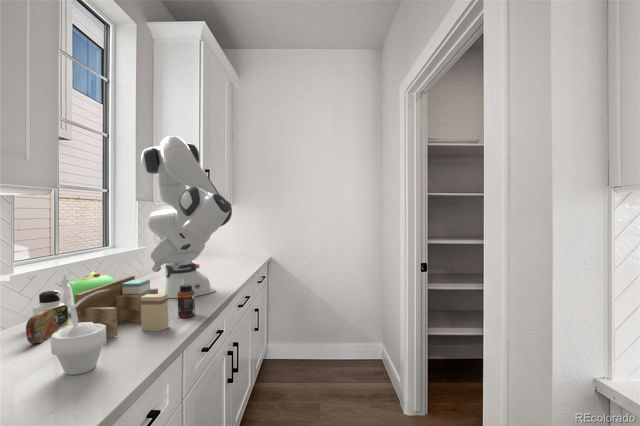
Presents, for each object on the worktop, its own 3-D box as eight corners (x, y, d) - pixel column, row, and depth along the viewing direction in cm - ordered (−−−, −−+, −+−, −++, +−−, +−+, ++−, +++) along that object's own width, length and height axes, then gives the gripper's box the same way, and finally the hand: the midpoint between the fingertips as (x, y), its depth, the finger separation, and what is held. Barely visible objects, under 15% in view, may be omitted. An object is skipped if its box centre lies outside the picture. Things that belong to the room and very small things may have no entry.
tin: (36, 347, 107) (35, 318, 107) (24, 348, 107) (22, 319, 106) (61, 330, 122) (60, 305, 122) (50, 331, 121) (49, 305, 121)
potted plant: (42, 384, 84) (37, 275, 83) (64, 363, 95) (61, 267, 95) (103, 376, 87) (99, 271, 86) (118, 357, 98) (114, 264, 98)
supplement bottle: (198, 314, 135) (197, 284, 135) (184, 319, 130) (183, 287, 130) (188, 312, 139) (187, 282, 139) (174, 316, 134) (173, 286, 134)
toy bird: (91, 317, 136) (90, 277, 136) (56, 314, 141) (54, 276, 140) (128, 304, 154) (127, 269, 153) (96, 302, 158) (95, 268, 158)
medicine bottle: (48, 330, 122) (46, 294, 122) (33, 328, 125) (31, 293, 124) (68, 323, 129) (67, 289, 129) (54, 321, 131) (53, 288, 131)
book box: (168, 326, 123) (167, 293, 123) (162, 330, 119) (161, 297, 119) (148, 326, 123) (146, 294, 123) (141, 330, 119) (140, 297, 119)
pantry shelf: (158, 311, 141) (157, 275, 141) (109, 340, 111) (107, 294, 111) (132, 311, 142) (130, 275, 141) (76, 340, 112) (74, 294, 111)
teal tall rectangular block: (150, 313, 139) (149, 279, 138) (140, 319, 132) (139, 283, 131) (134, 313, 139) (133, 279, 139) (123, 319, 132) (121, 283, 132)
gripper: (203, 231, 127) (178, 259, 129) (164, 231, 107) (135, 264, 109) (214, 244, 126) (189, 272, 128) (177, 246, 106) (148, 280, 108)
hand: (164, 269), depth 118 cm, fingers open, 8 cm apart
